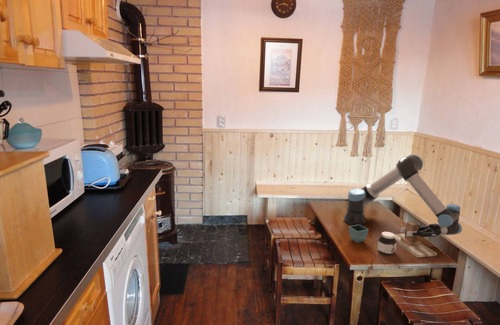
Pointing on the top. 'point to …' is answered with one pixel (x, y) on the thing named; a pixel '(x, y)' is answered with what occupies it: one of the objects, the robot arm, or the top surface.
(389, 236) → the spread jar
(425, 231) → the robot arm
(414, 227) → the block
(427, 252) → the plywood board
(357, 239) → the flower pot
